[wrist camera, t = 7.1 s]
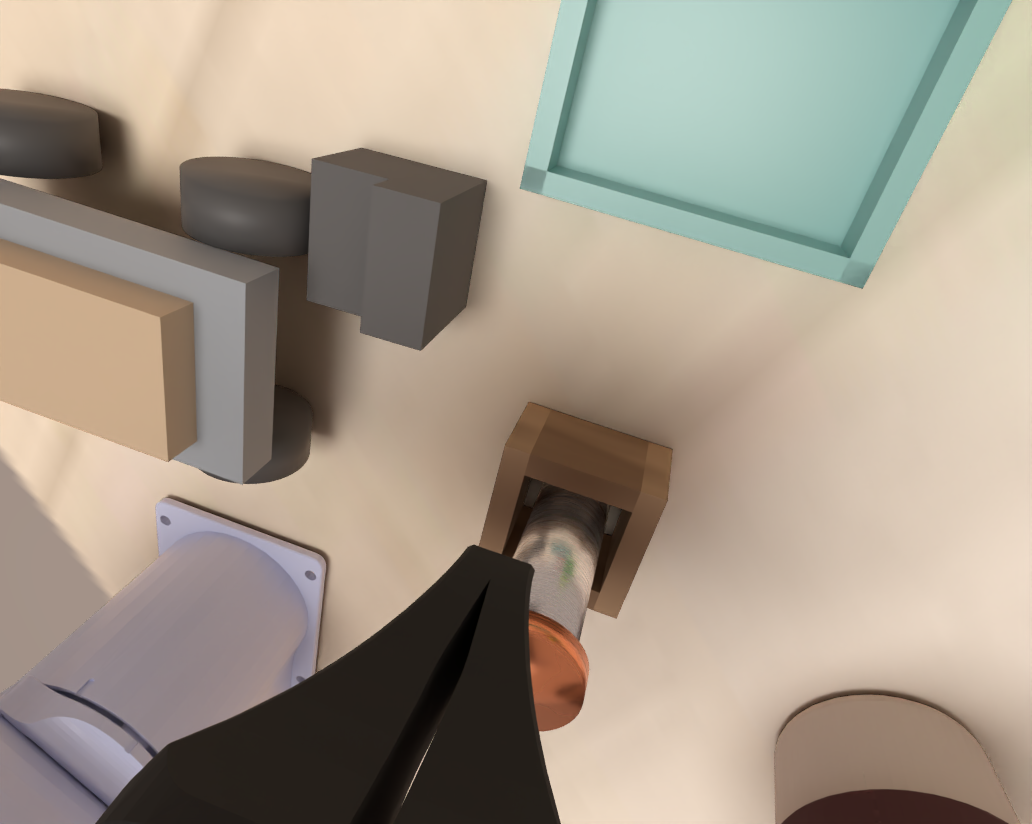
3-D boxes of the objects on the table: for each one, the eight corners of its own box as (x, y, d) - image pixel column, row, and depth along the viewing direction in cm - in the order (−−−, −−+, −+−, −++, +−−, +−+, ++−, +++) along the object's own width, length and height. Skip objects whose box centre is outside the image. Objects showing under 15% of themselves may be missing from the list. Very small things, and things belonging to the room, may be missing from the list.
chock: (466, 305, 21) (420, 350, 18) (353, 273, 22) (287, 311, 18) (488, 179, 19) (440, 203, 16) (363, 147, 20) (291, 163, 16)
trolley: (354, 185, 20) (213, 230, 15) (329, 439, 25) (216, 549, 19) (21, 85, 22) (-228, 90, 16) (58, 344, 26) (-123, 420, 21)
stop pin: (609, 533, 24) (563, 748, 16) (526, 504, 24) (442, 701, 17) (637, 462, 22) (600, 664, 15) (547, 432, 22) (466, 613, 15)
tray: (849, 269, 18) (862, 288, 16) (535, 178, 19) (520, 188, 17) (1000, -34, 14) (1036, -47, 13) (605, -126, 15) (594, -149, 14)
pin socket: (626, 560, 24) (616, 618, 21) (498, 514, 25) (473, 566, 22) (672, 449, 22) (667, 500, 19) (528, 401, 22) (504, 445, 20)
